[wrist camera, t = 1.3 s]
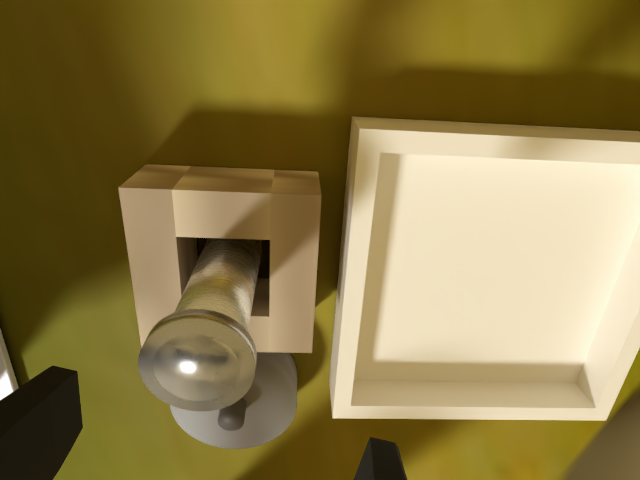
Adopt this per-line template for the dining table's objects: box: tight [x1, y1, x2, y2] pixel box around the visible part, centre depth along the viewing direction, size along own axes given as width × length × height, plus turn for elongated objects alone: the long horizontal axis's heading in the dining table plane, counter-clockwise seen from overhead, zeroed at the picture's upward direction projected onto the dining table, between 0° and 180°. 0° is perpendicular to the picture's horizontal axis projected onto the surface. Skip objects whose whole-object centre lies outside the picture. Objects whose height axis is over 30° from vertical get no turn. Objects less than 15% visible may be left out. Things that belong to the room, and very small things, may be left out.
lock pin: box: [138, 238, 263, 412], centre depth 16 cm, size 3×3×8 cm
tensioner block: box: [118, 164, 322, 449], centre depth 19 cm, size 7×14×3 cm, turn 177°
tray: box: [329, 116, 640, 420], centre depth 19 cm, size 14×14×2 cm
